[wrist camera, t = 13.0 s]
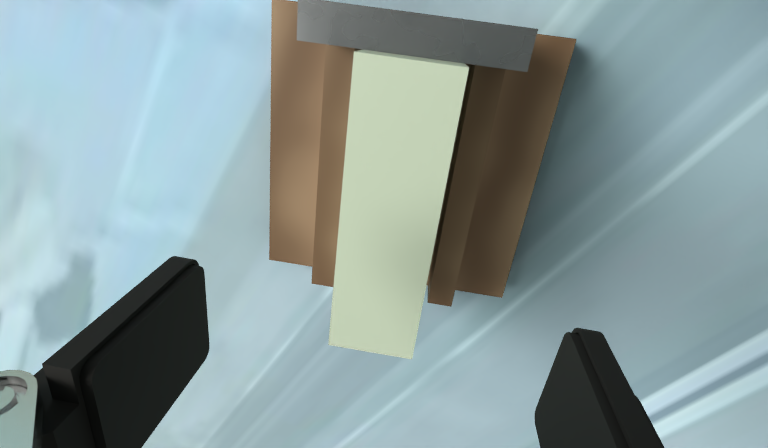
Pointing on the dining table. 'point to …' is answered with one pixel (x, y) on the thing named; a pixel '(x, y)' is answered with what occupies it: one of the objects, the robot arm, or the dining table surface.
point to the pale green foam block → (392, 196)
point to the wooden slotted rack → (466, 173)
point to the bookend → (415, 34)
